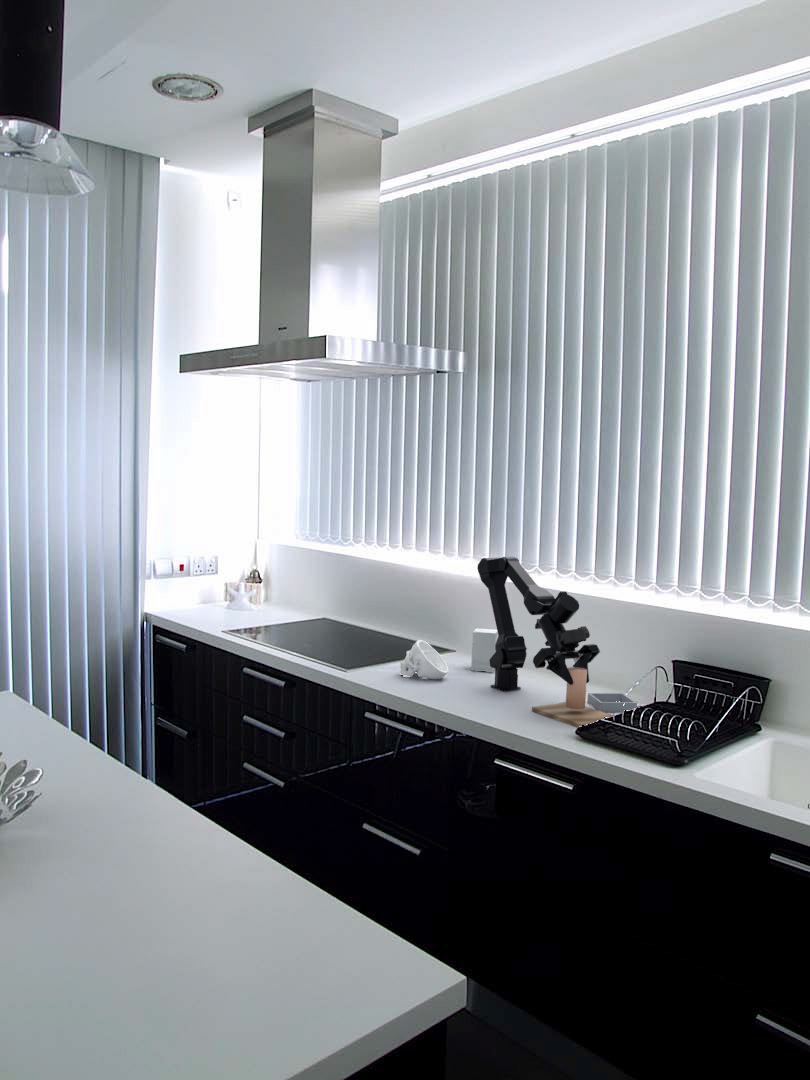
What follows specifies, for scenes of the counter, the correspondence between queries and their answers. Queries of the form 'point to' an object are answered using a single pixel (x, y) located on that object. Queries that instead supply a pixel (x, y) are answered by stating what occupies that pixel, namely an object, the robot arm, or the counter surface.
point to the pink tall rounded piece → (576, 688)
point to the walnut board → (571, 714)
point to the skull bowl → (424, 662)
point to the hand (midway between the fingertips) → (579, 683)
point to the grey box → (611, 702)
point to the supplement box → (483, 649)
